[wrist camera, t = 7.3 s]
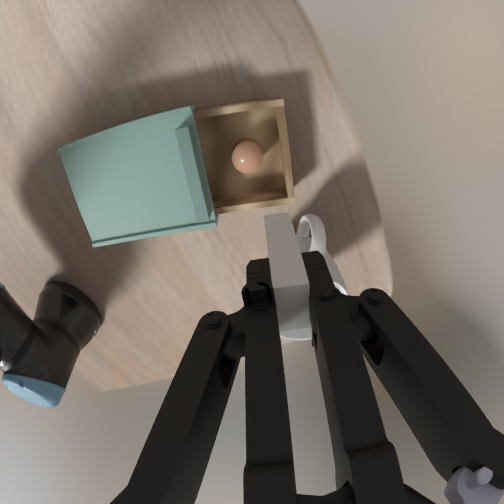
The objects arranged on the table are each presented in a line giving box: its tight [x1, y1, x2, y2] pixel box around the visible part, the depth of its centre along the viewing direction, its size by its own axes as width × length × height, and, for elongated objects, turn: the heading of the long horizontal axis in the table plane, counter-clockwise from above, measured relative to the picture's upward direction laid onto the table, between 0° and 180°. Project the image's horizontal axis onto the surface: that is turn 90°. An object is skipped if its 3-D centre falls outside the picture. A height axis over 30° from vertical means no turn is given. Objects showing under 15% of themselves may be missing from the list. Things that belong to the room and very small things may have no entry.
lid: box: [57, 104, 219, 248], centre depth 33 cm, size 18×15×5 cm
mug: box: [267, 214, 349, 340], centre depth 39 cm, size 15×11×13 cm
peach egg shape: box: [232, 138, 263, 173], centre depth 34 cm, size 4×4×4 cm
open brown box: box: [193, 97, 295, 214], centre depth 35 cm, size 18×13×4 cm
